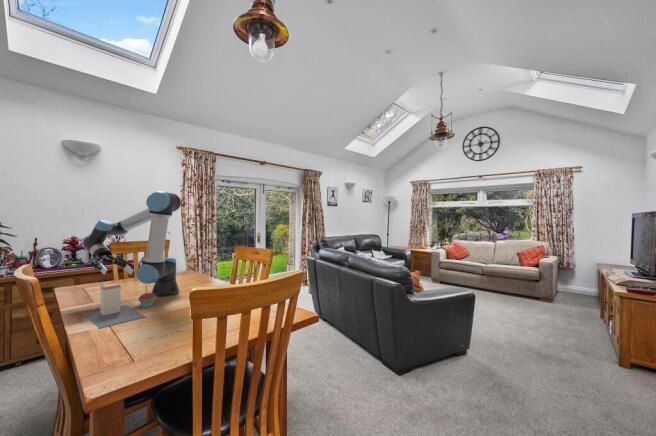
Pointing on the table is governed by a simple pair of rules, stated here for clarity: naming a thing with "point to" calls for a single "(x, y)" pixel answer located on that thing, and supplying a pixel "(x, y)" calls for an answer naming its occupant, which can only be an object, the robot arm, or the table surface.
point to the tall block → (110, 298)
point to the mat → (114, 317)
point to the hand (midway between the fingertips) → (119, 272)
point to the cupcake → (147, 299)
